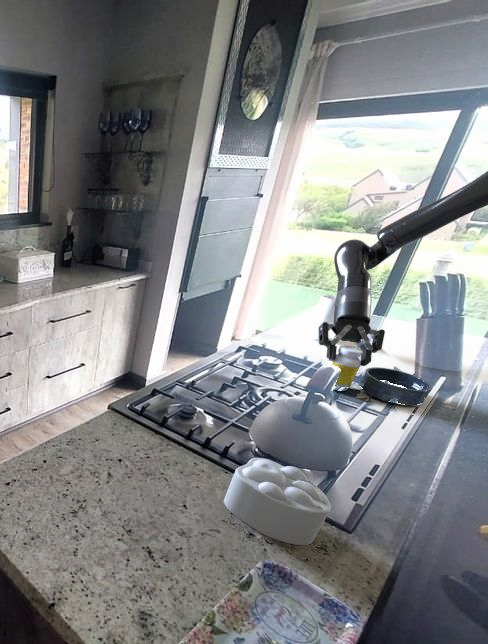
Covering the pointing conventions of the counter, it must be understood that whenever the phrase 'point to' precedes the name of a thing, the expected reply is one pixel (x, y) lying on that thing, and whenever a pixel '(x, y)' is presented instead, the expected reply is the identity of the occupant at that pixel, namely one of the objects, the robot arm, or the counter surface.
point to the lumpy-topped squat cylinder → (277, 501)
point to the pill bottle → (347, 364)
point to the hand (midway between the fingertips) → (348, 362)
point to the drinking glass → (322, 315)
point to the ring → (410, 396)
